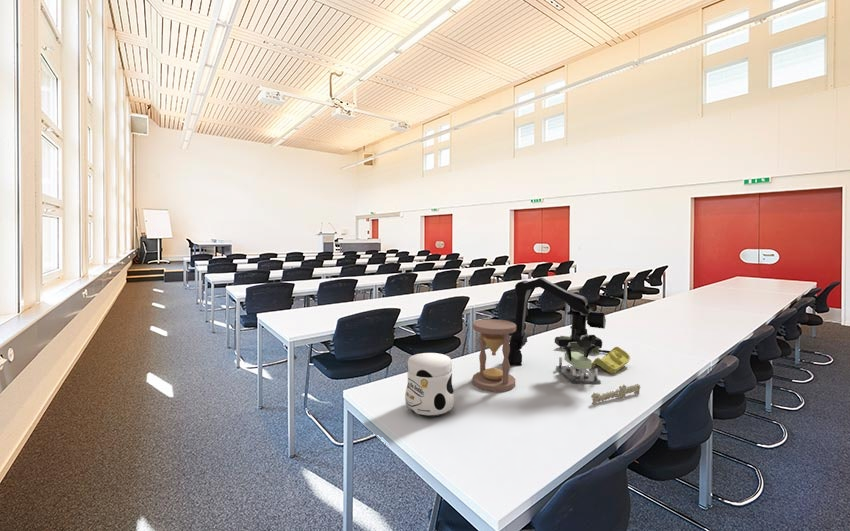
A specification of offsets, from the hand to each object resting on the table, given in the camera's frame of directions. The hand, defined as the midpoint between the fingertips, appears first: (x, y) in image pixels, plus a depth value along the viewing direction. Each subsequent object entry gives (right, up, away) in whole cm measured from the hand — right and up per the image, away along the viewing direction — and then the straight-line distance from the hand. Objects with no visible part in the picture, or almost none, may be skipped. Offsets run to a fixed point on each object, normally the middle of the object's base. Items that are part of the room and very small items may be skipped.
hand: (577, 360), depth 165 cm
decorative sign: (+6, -9, -22) cm, 25 cm away
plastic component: (+20, -6, +11) cm, 24 cm away
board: (0, -2, 0) cm, 2 cm away
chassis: (0, -7, +1) cm, 7 cm away
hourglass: (-38, -8, -8) cm, 39 cm away
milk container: (-65, -10, -31) cm, 72 cm away
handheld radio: (+18, -4, +35) cm, 40 cm away
